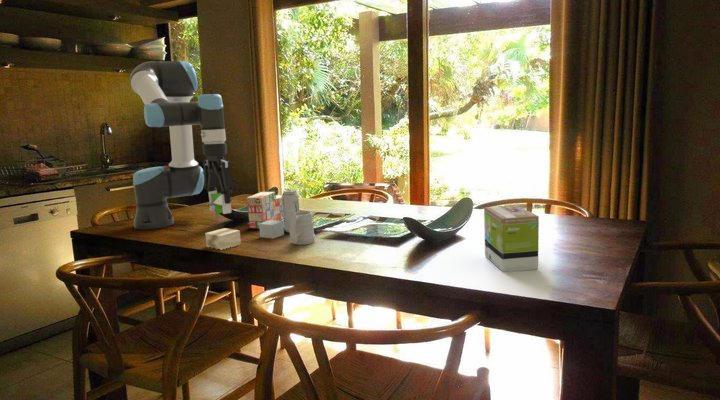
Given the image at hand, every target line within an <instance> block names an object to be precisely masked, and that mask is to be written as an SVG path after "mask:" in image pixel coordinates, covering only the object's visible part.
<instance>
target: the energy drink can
mask: <svg viewBox="0 0 720 400" xmlns="http://www.w3.org/2000/svg"><path fill="white" fill-rule="evenodd" d="M281 195H282V204H283V226H284V231H285V232H286V233H289V229H290V219H291V210H293V211H295V212H301V211H300V198H299V197H300V196H299V193H298V190H297V189H285V190H283V193H282V194H281Z"/></svg>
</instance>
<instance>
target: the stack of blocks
mask: <svg viewBox="0 0 720 400" xmlns="http://www.w3.org/2000/svg"><path fill="white" fill-rule="evenodd" d="M246 201H247V213H248V225H249V226H248V227H249V229H259V224H260V223H263V222H266V221H269V220H274V221H278V220H279V221H281V220H284V218H283V204H282V194H279V195H278V194H276V191H260V192H257V193H255V194H253V195H250V196H247V197H246ZM280 219H281V220H280Z"/></svg>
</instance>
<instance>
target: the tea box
mask: <svg viewBox="0 0 720 400" xmlns="http://www.w3.org/2000/svg"><path fill="white" fill-rule="evenodd" d="M483 209H484V210H483V211H484V212H483V213H484V214H483V218H484V219H483V220H484V221H483V222H484V256H485V257H486V258H487V259H488V260H489V261H490V262H491V263H493V264H494V265H495V266H496V267H497V268H498V269H499V270H500V271H501V272H502V273H510V272H511V273H512V272H523V271H524V272H525V271H535V270H538V269H539V230H540V229H539V225H540V222H539V221H540V220H539V218H540V217H539V215H536V214H535V213H533V212H531V211H530V210H527V209H525V208H523V207H521V206H520V205H518V204H513V205H502V206H501V205H499V206H490V207H489V206H487V207H486V206H485V207H484V208H483Z"/></svg>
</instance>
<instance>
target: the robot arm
mask: <svg viewBox="0 0 720 400" xmlns="http://www.w3.org/2000/svg"><path fill="white" fill-rule="evenodd" d="M129 83H130V84H129V85H130V87H131V89H132V90H133V92H134V93H136V95H138V96H139V97H140V99H141V100H142V102H143V104H144V105H143V106H144V107H143V116H144V122H145V124H146V126H148V127H150V128H164V127H165V128H166V127H169V139H170V148H171V149H170V150H171V161H170V162H169V163H168V169H165V168H164V167H163V166H153V167H147V168H143V169H141V170H140V169H139V170H137V171H136V172H134V173H133V175H132V179H133V183H132V185H133V188H134V195H135V204H136V212H135V215H134V220H133V227H134V229H135V230H156V229H161V228H167V227H169V226H172V225H174V224H175V218H174V215H173V214H172V212H171V210H170V207H169V205H168V199H172V198H180V197H187V196H189V197H190V196H195V195H199V194H200V193H201V192H202V191H203V189H205V190H206V191H207V193H208V200H209V203H208V204H209V205H211V204H212V203H213V202H212V201H213V200H212V199H213V198H212V195H211V194H216V193H218V188H217V187H216V186H217V185H216V184H217V179H218V181H219V186H220V189H221V192H220V193H221V198H222V209H223V213H222V214H223V215H225V214H231V213H232V202H231V201H232V200H231V193H232V192H233V193H234V182H233V177H232V172H231V161H229V160H225V157H224V156H225V155H227V154H228V149H227V148H228V147H227V143H226V141H227V136H226V127H225V117H224V116H225V114H224V103H223V98H222V95H220V94H219V93H213V94H211V93H210V94H209V93H206V94H200V95H198V96H197V101H191V100H192V99H193V98H194V93H195V92H197V91H198V88H199V87H198V86H199V85H198V79H197V73H196V70H195V68H194V66H193V65H192V64H191V62H189V61H182V60H181V61H180V60H175V61H174V60H171V61H169V60H161V61H160V60H159V61H158V60H156V61H155V60H150V61H145V62H141V64H138V65H137V66H136V67H135V68H134V69H133V70H132V71H131V73H130V76H129ZM195 125H196V126H198V125H199V126H200V132H201V133H200V136H201V141H202V143H203V144H202V145H201V146H202V153H203V156H205V157H206V158H207V159H204V160H202V164H203V168H202V166H200V165H199V162H198V161H197V160H196V159H195V151H194V138H193V137H194V136H193V126H195ZM230 200H231V201H230ZM211 202H212V203H211ZM209 207H211V208H209V210H210V211H211V212H216V209H215V205H212V206H209Z"/></svg>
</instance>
